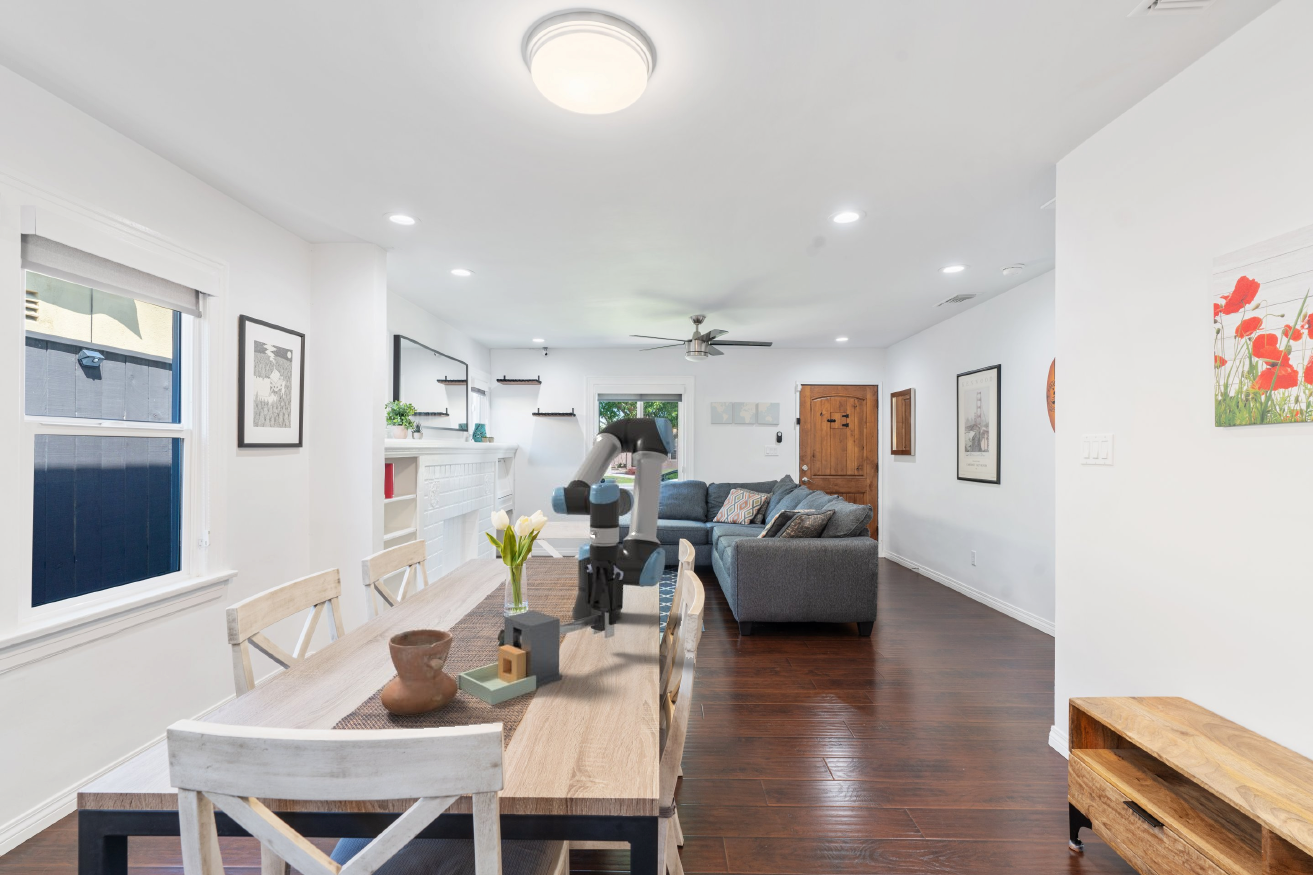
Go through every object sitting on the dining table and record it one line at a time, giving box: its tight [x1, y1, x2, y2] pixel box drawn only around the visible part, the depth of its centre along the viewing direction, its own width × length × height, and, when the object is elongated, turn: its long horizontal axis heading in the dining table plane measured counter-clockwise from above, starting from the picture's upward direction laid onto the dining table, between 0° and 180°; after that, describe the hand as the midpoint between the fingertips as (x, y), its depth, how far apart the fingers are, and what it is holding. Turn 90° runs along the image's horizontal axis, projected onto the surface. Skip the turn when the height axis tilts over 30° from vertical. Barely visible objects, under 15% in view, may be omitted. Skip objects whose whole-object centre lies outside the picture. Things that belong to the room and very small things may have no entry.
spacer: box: [497, 645, 526, 683], centre depth 136 cm, size 2×7×7 cm, turn 48°
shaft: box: [517, 606, 607, 646], centre depth 148 cm, size 27×4×5 cm, turn 138°
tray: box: [456, 661, 537, 706], centre depth 133 cm, size 11×13×3 cm
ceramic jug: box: [380, 628, 459, 717], centre depth 124 cm, size 18×14×14 cm
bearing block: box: [503, 610, 563, 689], centre depth 140 cm, size 8×12×14 cm, turn 48°
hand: (603, 634), depth 157 cm, fingers closed on shaft, 4 cm apart
